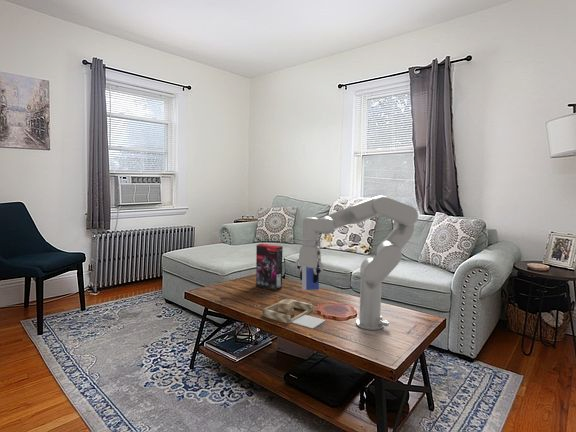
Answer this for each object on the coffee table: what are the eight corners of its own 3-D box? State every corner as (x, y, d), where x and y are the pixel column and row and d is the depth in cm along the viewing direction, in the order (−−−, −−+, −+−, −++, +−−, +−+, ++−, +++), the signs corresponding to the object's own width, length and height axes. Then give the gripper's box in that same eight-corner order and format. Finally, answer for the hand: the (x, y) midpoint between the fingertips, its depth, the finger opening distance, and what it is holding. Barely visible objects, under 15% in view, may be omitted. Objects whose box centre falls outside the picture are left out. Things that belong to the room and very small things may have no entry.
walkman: (318, 288, 166) (318, 263, 165) (318, 289, 163) (318, 264, 163) (302, 288, 167) (301, 263, 166) (302, 289, 164) (301, 264, 163)
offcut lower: (294, 317, 173) (294, 309, 172) (287, 321, 168) (287, 312, 167) (284, 314, 176) (284, 306, 176) (277, 318, 171) (277, 310, 171)
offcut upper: (293, 308, 173) (293, 300, 173) (288, 312, 168) (288, 304, 167) (282, 307, 175) (282, 299, 175) (278, 310, 170) (278, 302, 169)
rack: (312, 311, 181) (312, 304, 181) (289, 323, 164) (289, 316, 164) (287, 304, 190) (287, 298, 190) (262, 316, 173) (262, 309, 173)
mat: (325, 320, 168) (325, 320, 168) (312, 328, 158) (312, 328, 158) (304, 315, 175) (304, 314, 175) (291, 322, 165) (291, 321, 165)
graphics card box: (255, 286, 224) (255, 244, 222) (262, 284, 230) (262, 243, 228) (276, 291, 215) (276, 247, 212) (282, 288, 220) (283, 246, 218)
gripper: (330, 244, 162) (329, 282, 163) (298, 240, 172) (298, 276, 173) (322, 246, 156) (321, 286, 157) (290, 242, 165) (289, 279, 167)
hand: (309, 280), depth 165 cm, fingers closed on walkman, 6 cm apart
